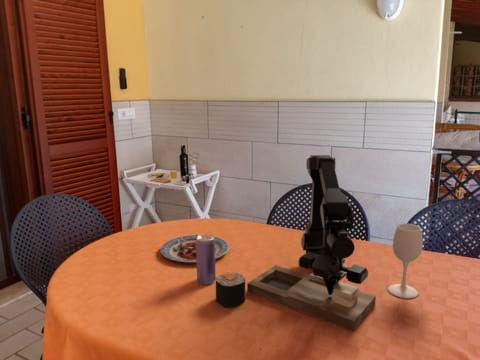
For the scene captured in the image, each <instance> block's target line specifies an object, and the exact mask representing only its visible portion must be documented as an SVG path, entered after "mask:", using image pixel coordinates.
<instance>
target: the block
mask: <svg viewBox="0 0 480 360" xmlns="http://www.w3.org/2000/svg"><path fill="white" fill-rule="evenodd" d="M340 282H341V283H340V284H339V285H338V286H337V287H336V288H335V289H334V299H333V302H334V303H337V304H340V305H343V306H346V307H349V308H351V307H352V306H353V305H354V304H355V303H356V301H357V300H358V291H359V286H354V285H352V284H349V283H345V282H342V281H340Z"/></svg>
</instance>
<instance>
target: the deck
mask: <svg viewBox="0 0 480 360" xmlns="http://www.w3.org/2000/svg"><path fill="white" fill-rule="evenodd" d="M341 282H342V281H339V282H338V284H337V286H338V285H339V284H340V283H341ZM246 284H247V285H246V286H247V288H246V289H247V290H246V291H247V293H249V294H251V295H253V296H257V297H259V298H262V299H265V300H267V301H270V302H273V303H274V304H275V303H276V304H278V305H281V306H283V307H286V308H289V309H292V310H294V311H297V312H300V313H302V314H305V315H308V316H311V317H314V318H316V319H319V320H321V321H324V322H327V323H329V324H332V325H335V326H336V327H337V326H338V327H341V328H342V329H346V330H348V331H351V332H354V331H355V330H356V329H357V327H359V326H360V324H361V323H362V322H363V321H364V320H365V318H366V317H367V316H368V315H369V313H370V312H371V311H372V310H373V309H374V307H375V306H376V302H377V301H376V298H377V296H376V295H374V294H371V293H367V292H364V291H362V290H361V291H360V290H358V300H357V301H356V303H355V304H354V305H353V306H352V307H351V308H349V307H346V306H343V305H340V304H337V303H334V302H333V299H334V292H333V294H332V295H329V294H328V291H327V288H326V285H325V282H324V279H323V278H322V277H319V276H314V275H313V272H312V273H310V274H305V273H302V272H299V271H297V270H293V269H289V268H286V267H283V266H281V265H276V264H275V265H274V266H272V267H270V268H269V269H268V270H266V271H264V272H262V273H261V274H259V275H258V276H256V277H255V278H253V279H251V280H250V281H248V282H247V283H246ZM337 286H336V287H337Z"/></svg>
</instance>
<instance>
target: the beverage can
mask: <svg viewBox="0 0 480 360" xmlns="http://www.w3.org/2000/svg"><path fill="white" fill-rule="evenodd" d="M198 235H199V236H197V240H196V258H197V262H196V280H197V282H198V283H199V284H200V285H211V284H213V283H214V282H216V277H217V276H216V259H215V239H214V237H215V236H214V235H212V234H209V233H208V234H207V233H206V234H198Z"/></svg>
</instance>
